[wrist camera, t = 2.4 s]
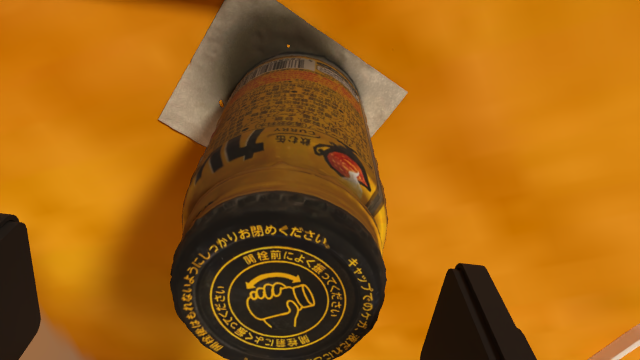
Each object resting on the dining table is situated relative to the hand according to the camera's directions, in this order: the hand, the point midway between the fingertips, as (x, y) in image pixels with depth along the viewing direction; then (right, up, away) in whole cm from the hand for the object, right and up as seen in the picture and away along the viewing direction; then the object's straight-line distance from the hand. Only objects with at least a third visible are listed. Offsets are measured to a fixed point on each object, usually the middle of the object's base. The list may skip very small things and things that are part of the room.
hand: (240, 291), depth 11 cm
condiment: (0, +6, +11) cm, 12 cm away
